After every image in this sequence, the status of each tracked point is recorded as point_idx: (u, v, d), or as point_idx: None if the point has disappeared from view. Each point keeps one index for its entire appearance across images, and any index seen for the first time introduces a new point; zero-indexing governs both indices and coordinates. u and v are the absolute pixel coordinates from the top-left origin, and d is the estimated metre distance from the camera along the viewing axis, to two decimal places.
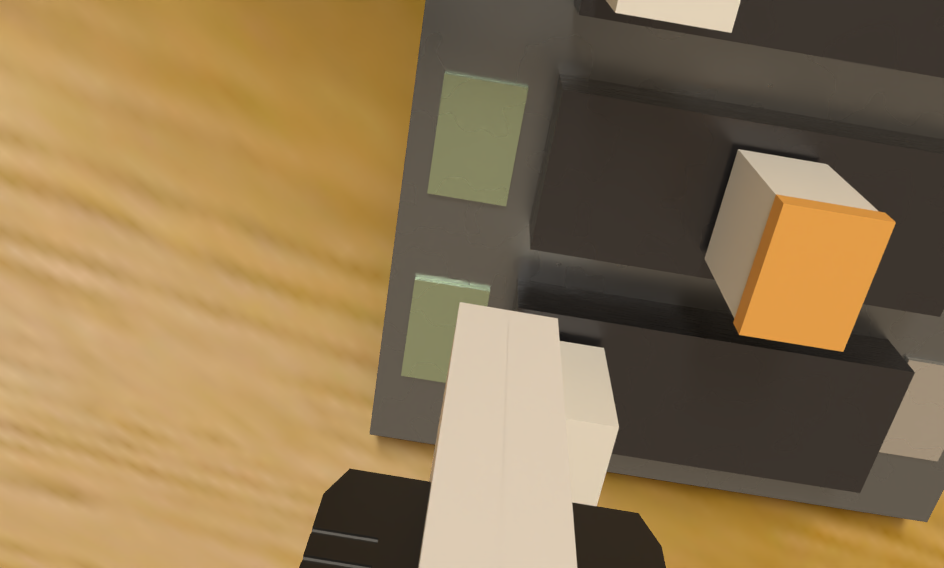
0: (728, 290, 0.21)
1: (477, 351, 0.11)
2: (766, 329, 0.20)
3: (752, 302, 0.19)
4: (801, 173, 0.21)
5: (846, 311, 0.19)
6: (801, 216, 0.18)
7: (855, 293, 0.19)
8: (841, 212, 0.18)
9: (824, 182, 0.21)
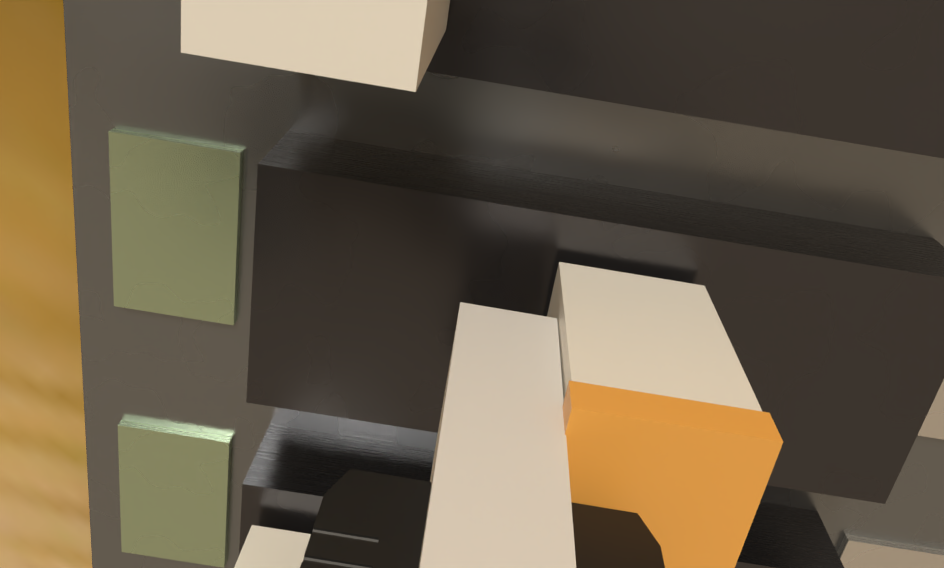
0: None
1: (477, 351, 0.11)
2: None
3: None
4: (648, 313, 0.12)
5: None
6: (607, 429, 0.10)
7: (718, 554, 0.11)
8: (681, 422, 0.10)
9: (682, 333, 0.12)
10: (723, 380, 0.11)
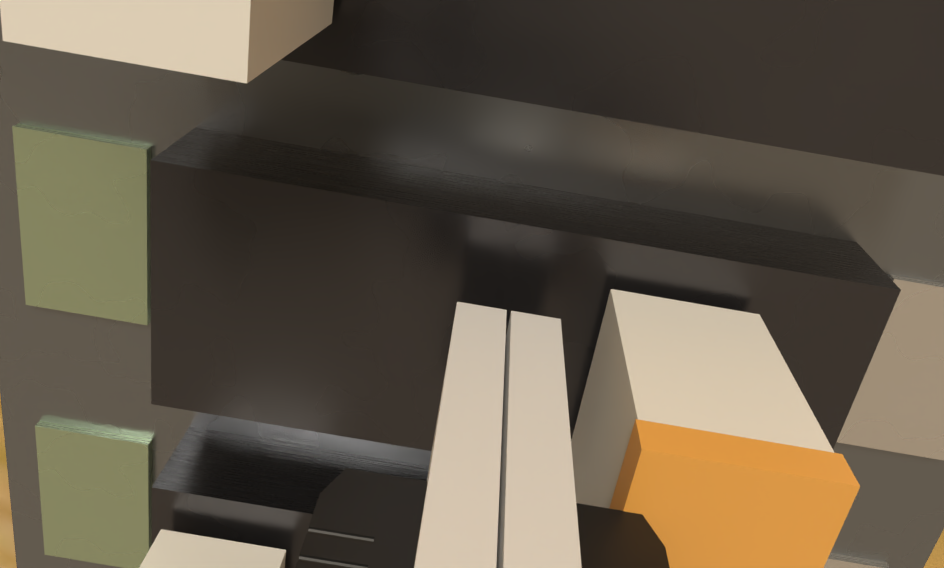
0: None
1: (474, 351, 0.11)
2: None
3: None
4: (706, 344, 0.12)
5: None
6: (677, 471, 0.10)
7: None
8: (754, 465, 0.10)
9: (743, 367, 0.12)
10: (790, 418, 0.11)
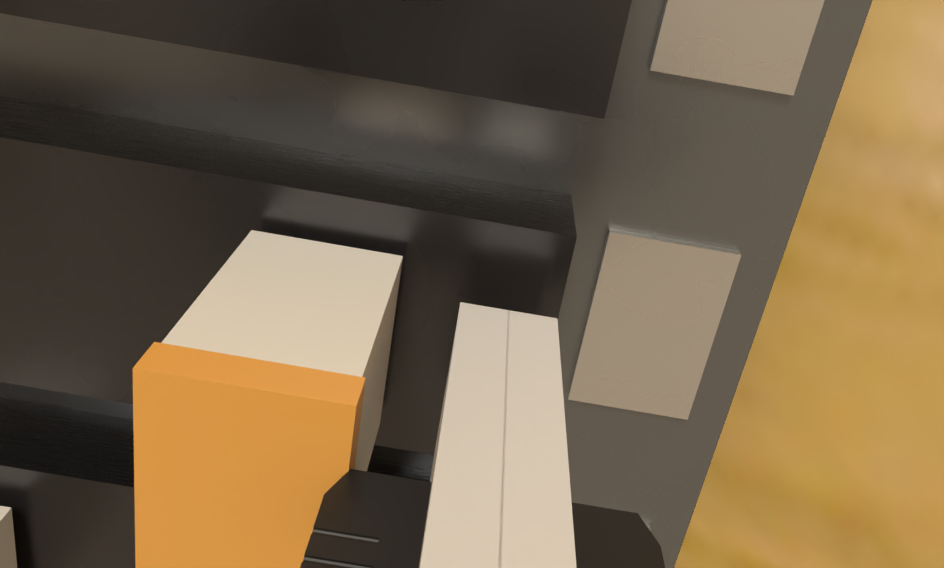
0: None
1: (477, 351, 0.11)
2: None
3: (138, 536, 0.10)
4: (312, 280, 0.12)
5: None
6: (174, 391, 0.09)
7: None
8: (251, 385, 0.09)
9: (334, 300, 0.12)
10: (343, 346, 0.11)
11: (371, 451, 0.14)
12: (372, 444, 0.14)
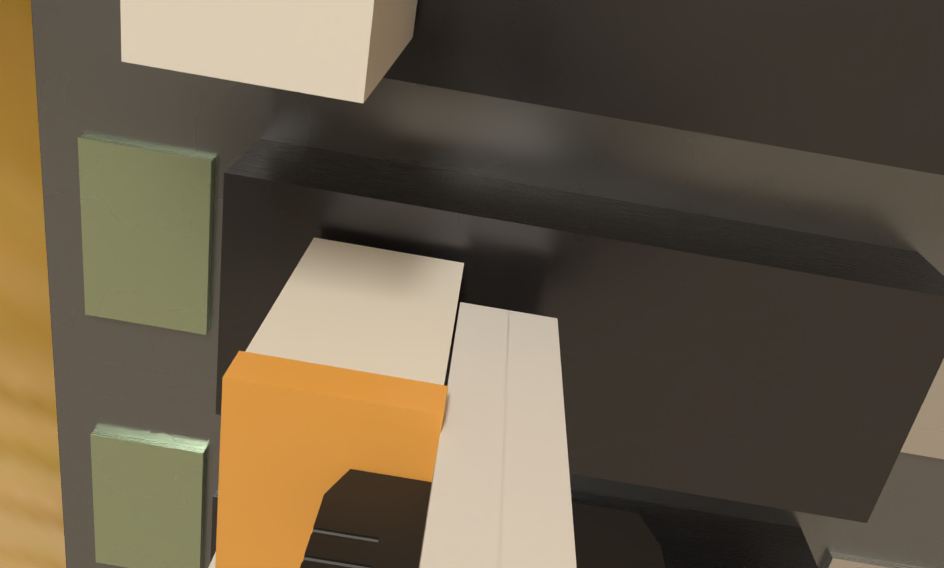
0: None
1: (477, 351, 0.11)
2: None
3: (220, 543, 0.10)
4: (381, 288, 0.12)
5: None
6: (263, 400, 0.10)
7: None
8: (339, 393, 0.10)
9: (405, 308, 0.12)
10: (420, 354, 0.11)
11: None
12: None
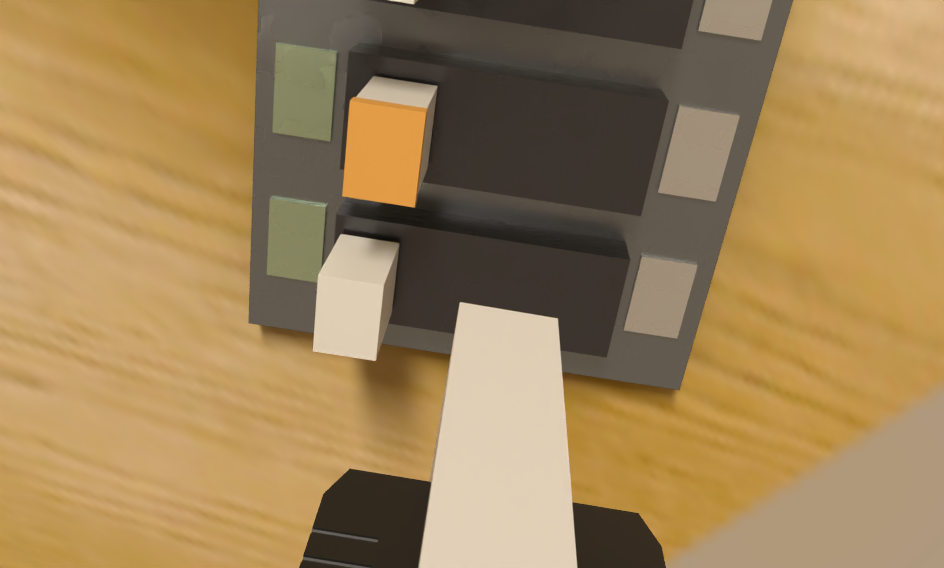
0: None
1: (477, 351, 0.11)
2: (359, 192, 0.29)
3: (345, 172, 0.29)
4: (402, 89, 0.30)
5: (409, 177, 0.28)
6: (363, 109, 0.28)
7: (412, 164, 0.28)
8: (389, 106, 0.28)
9: (412, 94, 0.30)
10: (418, 103, 0.29)
11: (425, 172, 0.32)
12: (425, 169, 0.32)
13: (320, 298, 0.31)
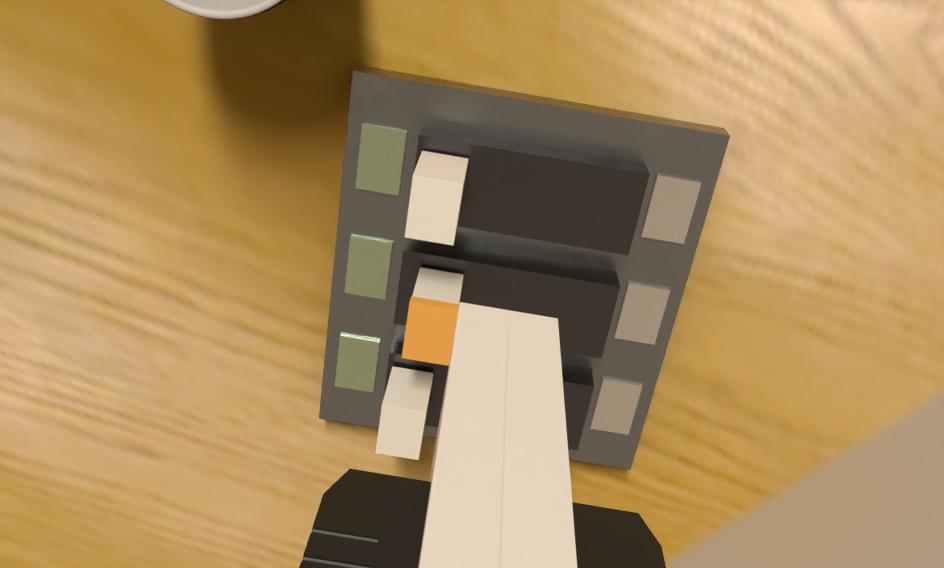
0: None
1: (477, 351, 0.11)
2: (413, 355, 0.44)
3: (404, 343, 0.43)
4: (441, 281, 0.45)
5: (446, 347, 0.43)
6: (418, 306, 0.42)
7: (448, 340, 0.43)
8: (435, 305, 0.42)
9: (448, 287, 0.44)
10: (452, 297, 0.43)
11: None
12: None
13: (382, 419, 0.46)
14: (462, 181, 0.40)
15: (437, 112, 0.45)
